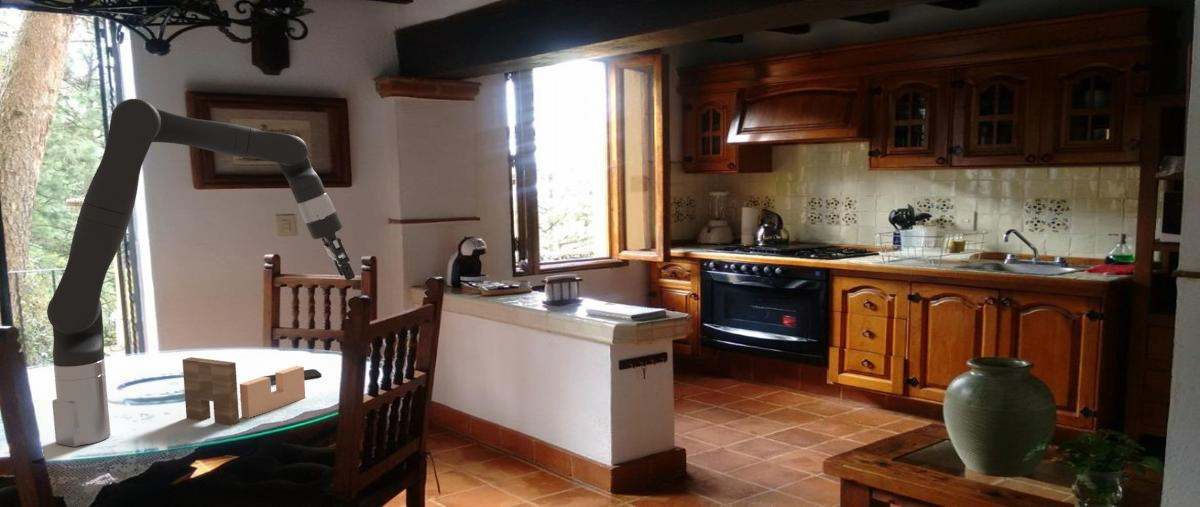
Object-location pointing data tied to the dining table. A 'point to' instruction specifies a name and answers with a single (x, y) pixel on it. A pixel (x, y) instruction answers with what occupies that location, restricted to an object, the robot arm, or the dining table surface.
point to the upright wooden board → (211, 389)
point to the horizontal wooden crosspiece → (263, 400)
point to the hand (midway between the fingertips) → (347, 276)
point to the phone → (307, 375)
